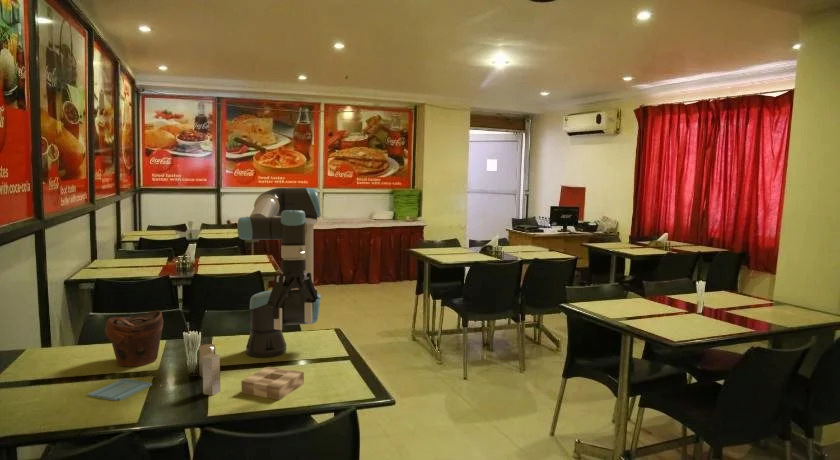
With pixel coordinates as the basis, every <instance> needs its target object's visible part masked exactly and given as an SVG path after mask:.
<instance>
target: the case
mask: <svg viewBox="0 0 840 460" xmlns="http://www.w3.org/2000/svg"><path fill="white" fill-rule="evenodd" d="M163 327H164V317H163V313H162V311H161V310H157V309H156V310H153V311H150V312H147V313H142V314H139V315H134V316H118V317H110V318H108V319H107V321H106V325H105V328H104V333H105V335H106V337H107V339H109V340H110V342H111V344H112V349H113V353H114V355H115V356H114V357H115V358H116V363H117V365H118V366H120V367H126V368H127V367H128V368H129V367H131V368H132V367H139V366H146V365H149V364H151V363H154V362H156V360H157V359H158V356H159V350H160V343H161V339H162V331H163Z"/></svg>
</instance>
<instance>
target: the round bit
mask: <svg viewBox="0 0 840 460" xmlns="http://www.w3.org/2000/svg"><path fill="white" fill-rule="evenodd" d="M208 354H216V344H213V343H205V344H204V343H203V344H201V345H200V346H198V363H199V377H201V378H203V365H202V357H203V356H206V355H208Z"/></svg>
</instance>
